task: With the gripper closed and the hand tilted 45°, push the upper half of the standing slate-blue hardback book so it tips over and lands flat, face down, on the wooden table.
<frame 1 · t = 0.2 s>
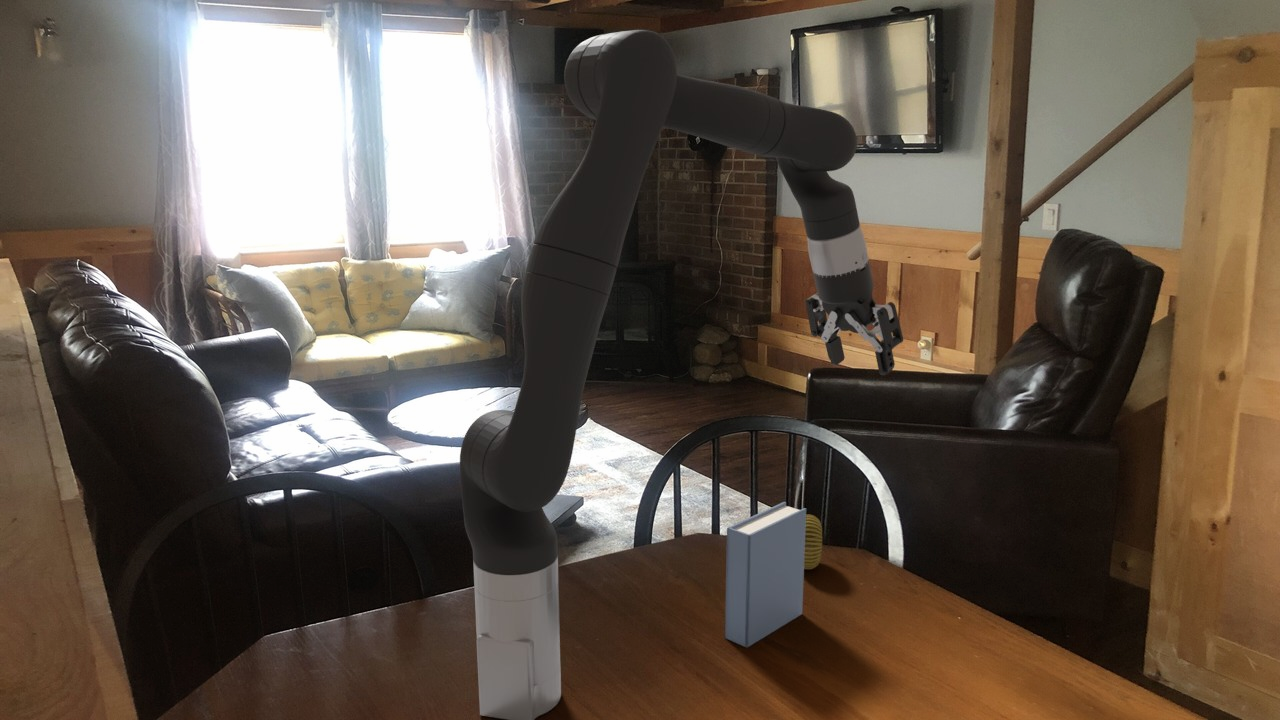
hand: (862, 367, 134), 30 cm above the table, tool tilted 20°, fingers open, 8 cm apart
sculpture: (806, 568, 142), on the table
book: (764, 625, 125), on the table
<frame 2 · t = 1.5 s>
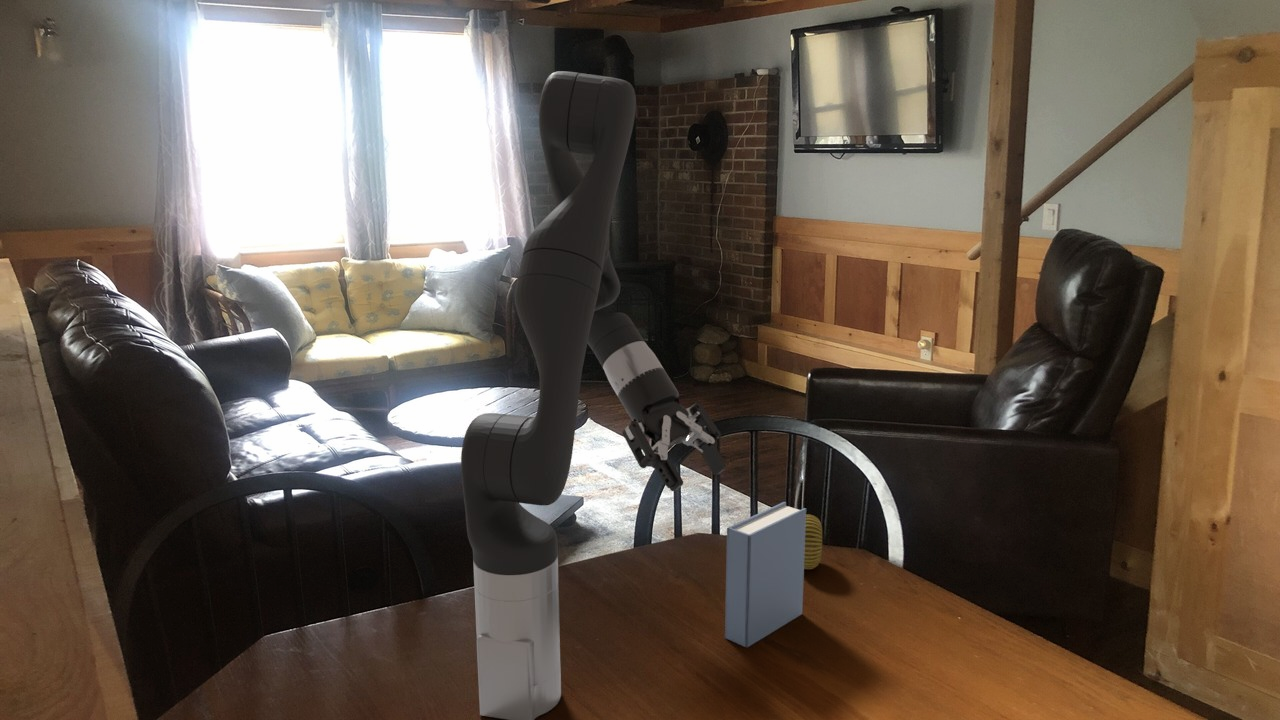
hand: (700, 479, 129), 17 cm above the table, tool tilted 45°, fingers open, 8 cm apart
nothing on the table moved.
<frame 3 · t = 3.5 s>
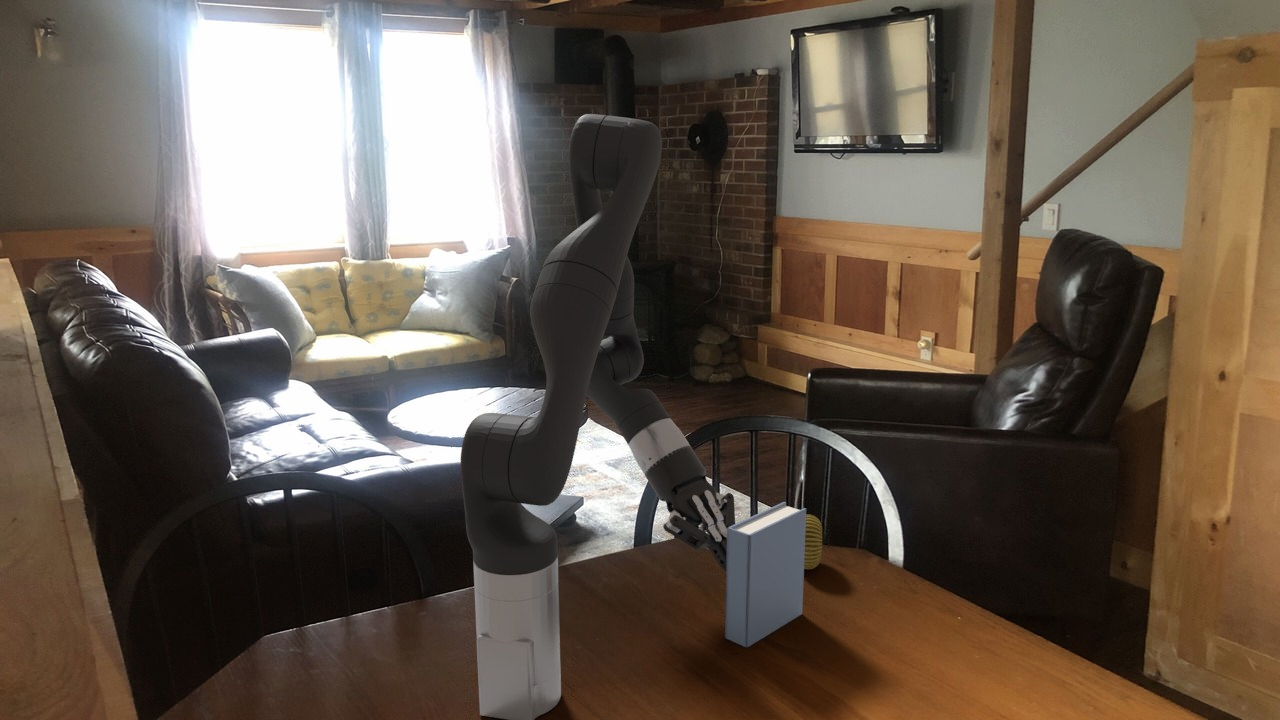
hand: (734, 567, 127), 6 cm above the table, tool tilted 45°, fingers closed
nothing on the table moved.
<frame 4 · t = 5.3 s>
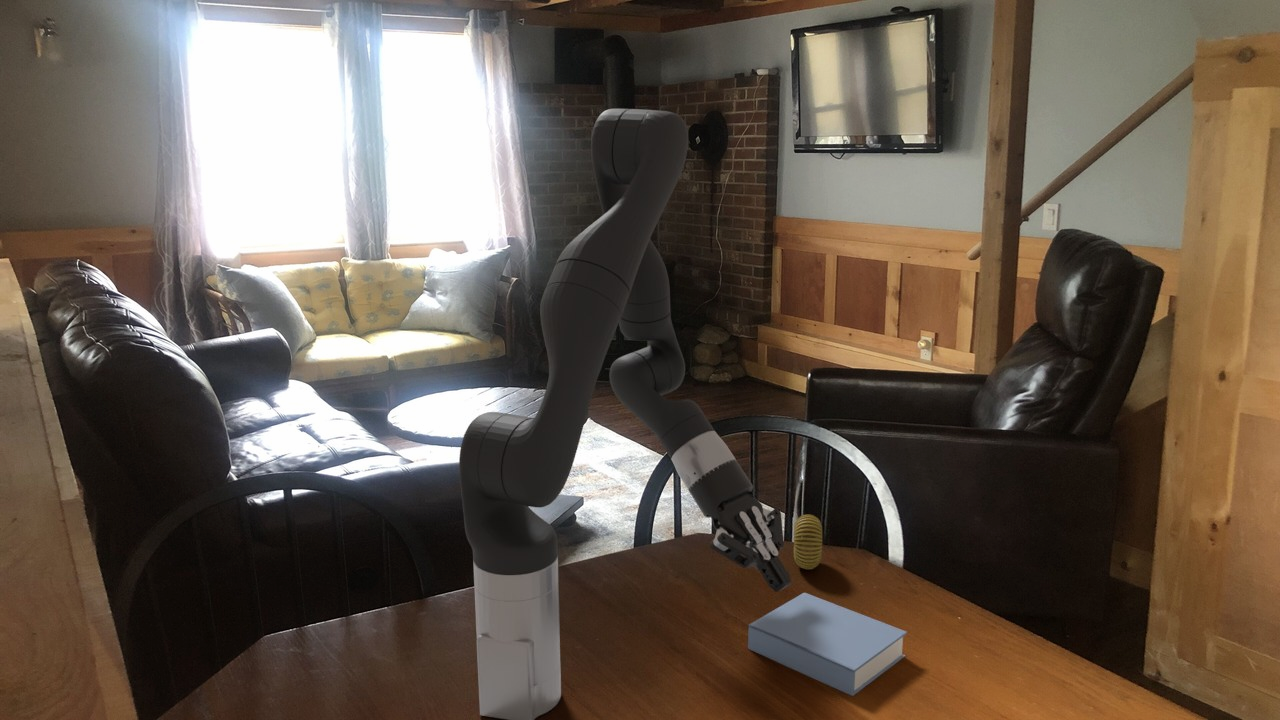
hand: (784, 587, 121), 6 cm above the table, tool tilted 45°, fingers closed
book: (777, 620, 123), point 1 cm above the table, tilted 90°
everything else where it was.
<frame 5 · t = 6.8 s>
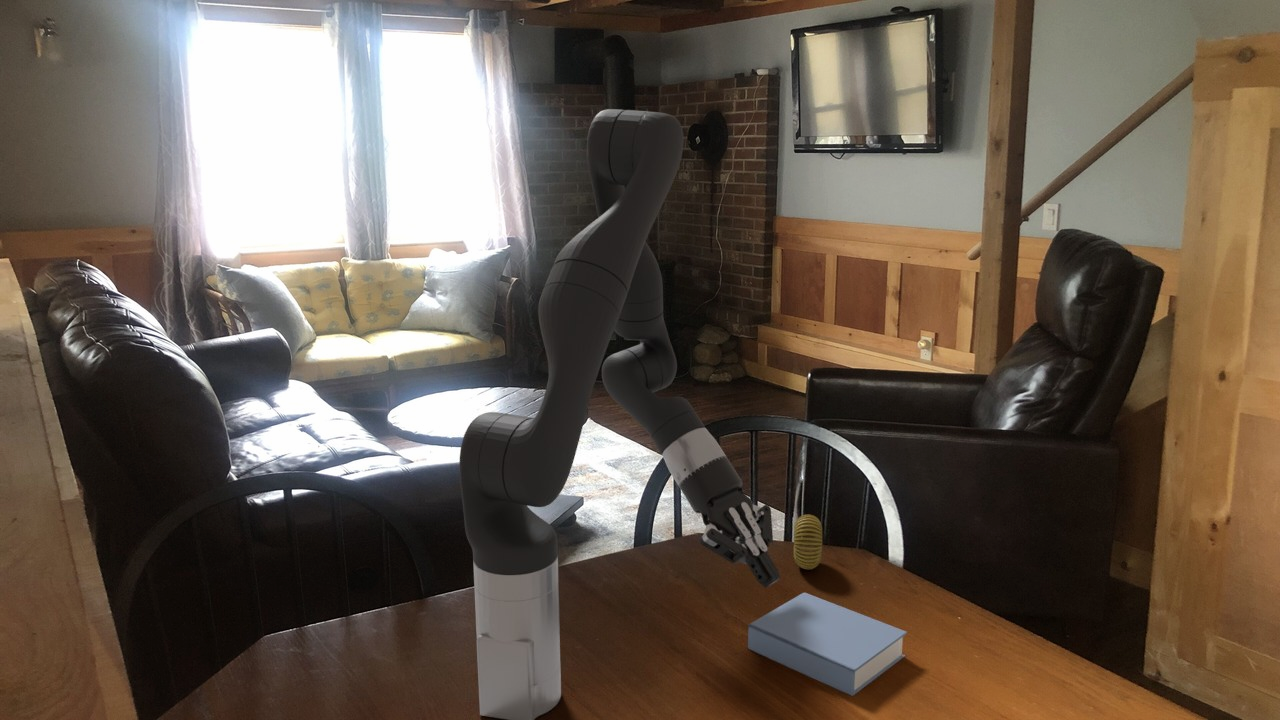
hand: (772, 582, 123), 6 cm above the table, tool tilted 45°, fingers closed
nothing on the table moved.
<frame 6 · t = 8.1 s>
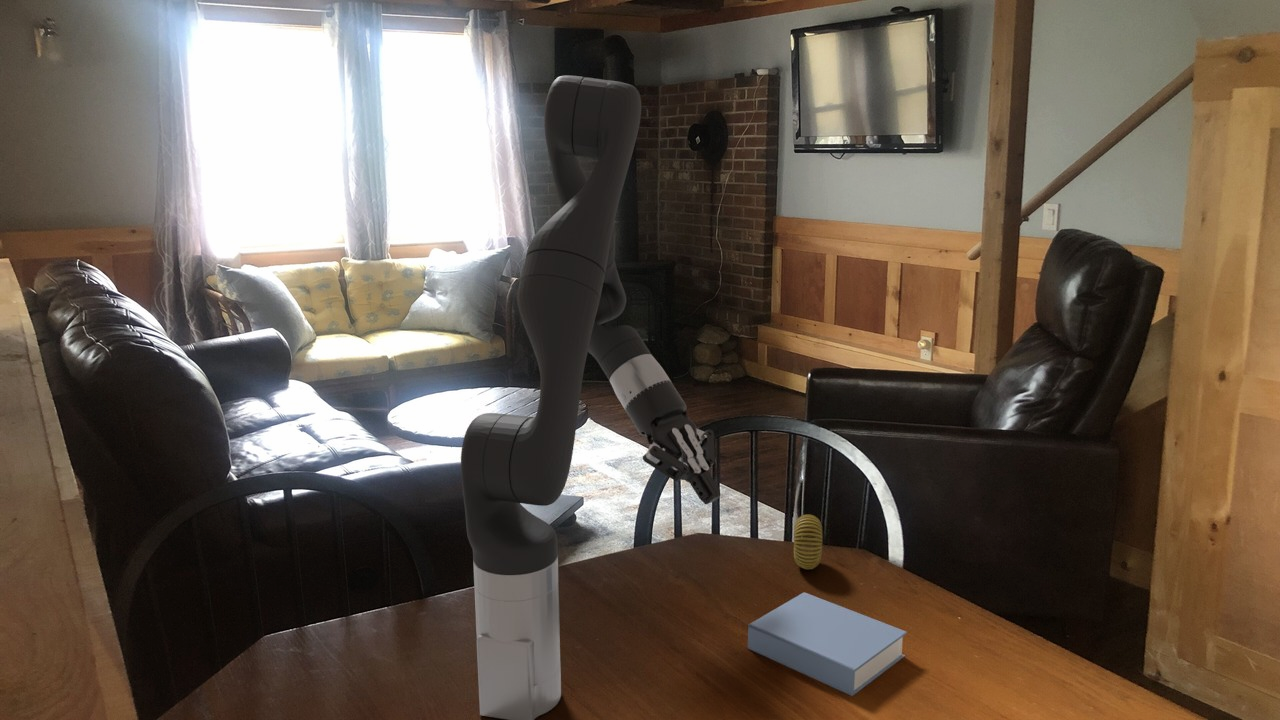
hand: (713, 500, 127), 15 cm above the table, tool tilted 45°, fingers closed
nothing on the table moved.
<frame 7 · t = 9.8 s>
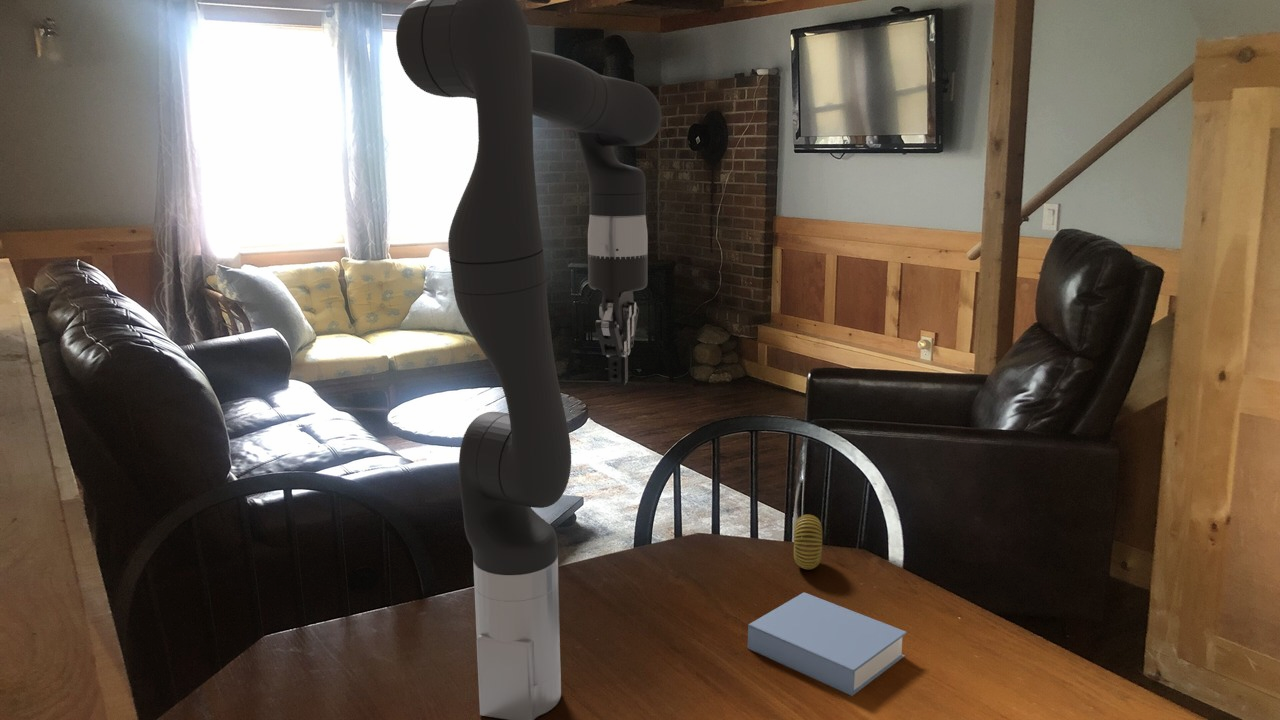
hand: (618, 384, 124), 31 cm above the table, tool pointing down, fingers closed
nothing on the table moved.
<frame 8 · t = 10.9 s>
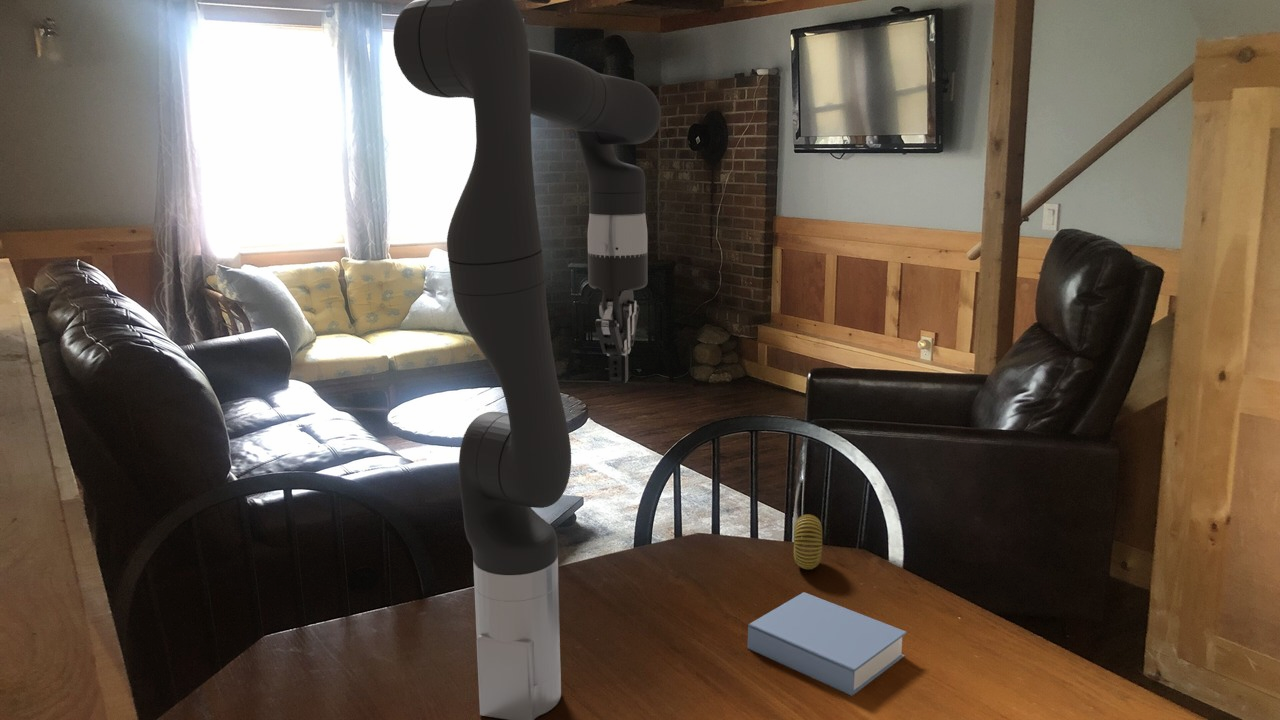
hand: (618, 382, 124), 31 cm above the table, tool pointing down, fingers closed
nothing on the table moved.
at the end: book tilted 90°; book inside the target area (4.9 cm from its centre), point 1.5 cm above the table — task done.
